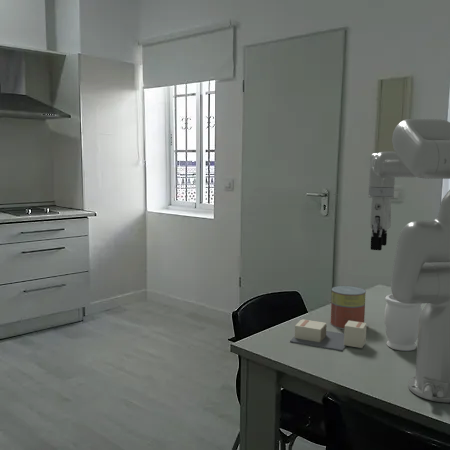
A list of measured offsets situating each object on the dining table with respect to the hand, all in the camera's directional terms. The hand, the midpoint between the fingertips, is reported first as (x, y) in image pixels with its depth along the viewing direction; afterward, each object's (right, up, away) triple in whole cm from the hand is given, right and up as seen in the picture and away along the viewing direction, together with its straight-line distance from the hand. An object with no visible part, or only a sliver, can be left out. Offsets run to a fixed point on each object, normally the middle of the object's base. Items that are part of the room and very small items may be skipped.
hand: (378, 247), depth 156 cm
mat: (-18, -29, -1) cm, 34 cm away
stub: (-9, -29, -6) cm, 31 cm away
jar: (+5, -30, -6) cm, 31 cm away
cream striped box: (-21, -28, 0) cm, 36 cm away
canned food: (-7, -27, +13) cm, 31 cm away
